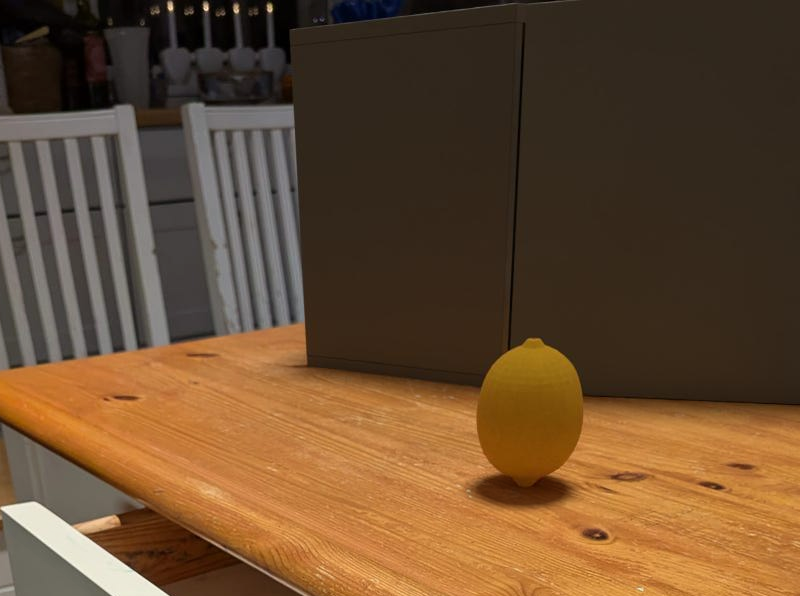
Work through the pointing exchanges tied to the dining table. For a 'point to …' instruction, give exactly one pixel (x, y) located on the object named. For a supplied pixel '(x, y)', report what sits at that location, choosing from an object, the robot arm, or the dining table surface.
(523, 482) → the lemon
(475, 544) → the dining table surface
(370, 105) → the cupboard
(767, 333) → the cupboard door
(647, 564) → the dining table surface
